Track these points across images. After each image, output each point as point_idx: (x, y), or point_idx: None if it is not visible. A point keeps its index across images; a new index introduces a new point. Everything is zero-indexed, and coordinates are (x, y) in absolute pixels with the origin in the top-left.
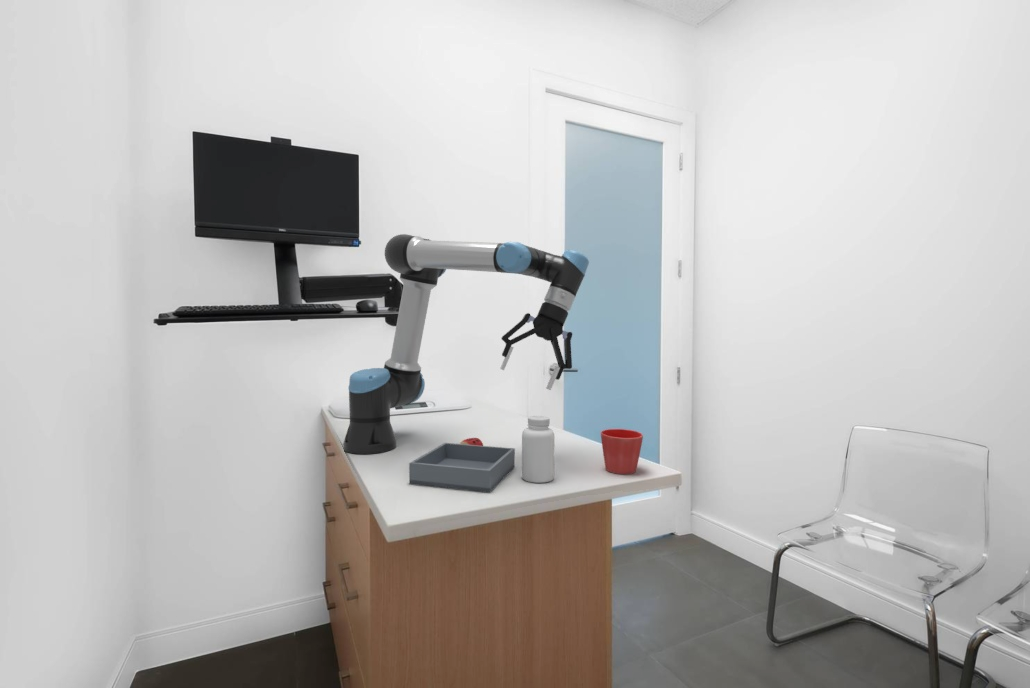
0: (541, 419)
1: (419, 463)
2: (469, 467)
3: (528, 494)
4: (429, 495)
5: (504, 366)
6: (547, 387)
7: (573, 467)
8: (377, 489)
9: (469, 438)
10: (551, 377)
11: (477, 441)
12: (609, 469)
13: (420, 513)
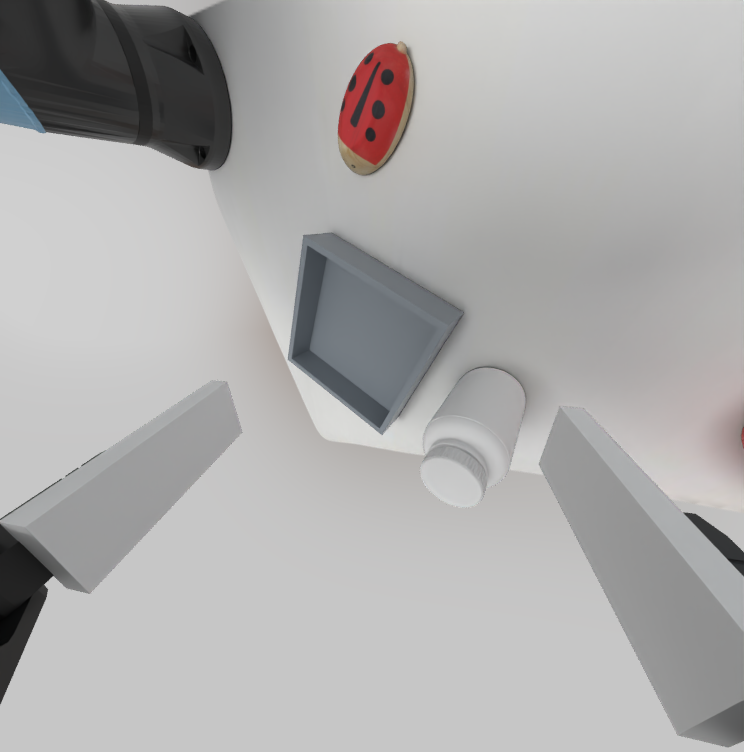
0: (449, 501)
1: (298, 366)
2: (371, 318)
3: None
4: None
5: (224, 446)
6: (554, 440)
7: (638, 356)
8: (286, 354)
9: (355, 84)
10: (605, 509)
11: (380, 118)
12: (742, 440)
13: (335, 431)
